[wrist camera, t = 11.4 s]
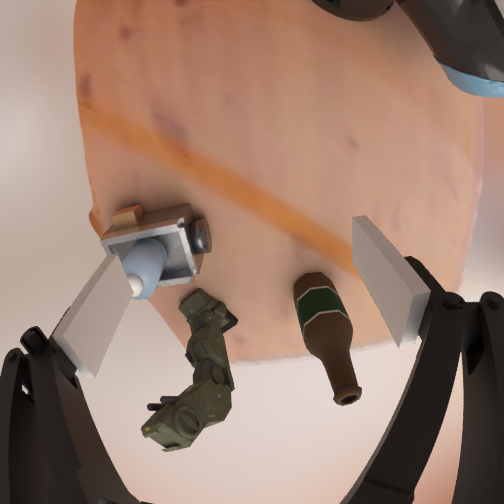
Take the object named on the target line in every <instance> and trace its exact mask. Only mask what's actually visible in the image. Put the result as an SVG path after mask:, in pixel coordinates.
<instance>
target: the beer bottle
mask: <svg viewBox="0 0 504 504" xmlns="http://www.w3.org/2000/svg"><path fill="white" fill-rule="evenodd" d="M294 303H295V307H296V311H297V315H298V319H299V323H300V327H301V331H302V335H303V340H304V342H305V345H306V348H307V349H308V350H309V351H310V353H311V354H312V355H314V356H316V357H317V358H319V359H320V360H321V361H322V363H323V365H324V367H325V369H326V372H327V375H328V378H329V380H330V383H331V386H332V389H333V391H334V394H335V395H334V398H333V399H334V401H335V402H336V404H339V405H341V406H344V405H348V404H352V403H354V402H355V401H357V400H359V398H360V397H361V394H362V388H361V387H359V386H358V383H357V380H356V376H355V372H354V369H353V365H352V362H351V358H350V352H349V349H350V345H351V341H352V336H353V327H352V324H351V321H350V319H349V316H348V314H347V312H346V310H345V308H344V305H343V303H342V301H341V299H340V297H339V295H338V293H337V290H336V288H335V286H334V285H333V283H332V281H331V280H329V279H328V278H327V277H326V276H324V275H323V274H322V273H312V274H305V275H304V276H303V277H302V278H301V279H300V280H299V281H298V282H296V283H295V284H294Z"/></svg>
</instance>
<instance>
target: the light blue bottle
mask: <svg viewBox="0 0 504 504" xmlns="http://www.w3.org/2000/svg"><path fill="white" fill-rule="evenodd" d="M166 262H167V251H166V249H165V247H164V246H163V245H162V244H161V243H160V242H159V241H157V240H155V239H152V238H142V239H140V240H138V241H137V242H136V243H135V244H134V246H133V247H132V248H131V250H130V251H129V253H128V254H127V256H126V257H125V259H124V260H123V262H122V263H121V264H122V267H123V269H124V271H125V274H126V276H127V278H128V280H129V283H130V285H131V287H132V289H133V291H134V293H133V295H132V297H131V298H134V299H146V298H148V297H150V296H151V295H152V294H153V293H154V291H155V288H156V286H157V284H158V281H159V279H160V276H161V274H162V272H163V269H164V267H165V265H166Z"/></svg>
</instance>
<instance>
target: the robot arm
mask: <svg viewBox="0 0 504 504" xmlns="http://www.w3.org/2000/svg"><path fill="white" fill-rule="evenodd" d="M312 1H313V2H314V3H316V4H317V5H318V6H319V7H321V8H322V9H324V10H326V11H327V12H329V13H331V14H333V15H335V16H338V17H341V18H344V19H347V20H352V21H370V20H374V19H376V18H378V17H380V16H382V15H384V14H385V13H386V12H388V11H389V10H390V8H391V7H392V5H393V3H394V0H312ZM395 1H396V2H397V3H398V4H399V6H400V7H401V8H402V10H403V11H404V12H405V13H406V15H407V16H408V17H409V19H410V20H411V21H412V23H413V24H414V25H415V27H416V28H417V30H418V31H419V33H420V34H421V35H422V37H423V38H424V40H425V41H426V43H427V45H428V46H429V48H430V49H431V51H432V52H433V54H434V58H435V60H436V61H437V62H438V63H439V64H440V65H441V67H442V68H443V70H444V72H445V73H446V75H447V77H448V78H449V80H450V81H451V82H452V84H453V85H455V86H456V87H458V88H459V89H460V90H462V91H464V92H466V93H469V94H472V95H476V96H482V97H494V98H495V97H497V98H499V97H504V0H395ZM352 263H353V264H354V266H355V268H356V270H357V271H358V273H359V275H360V276H361V278H362V280H363V282H364V284H365V285H366V287H367V289H368V291H369V292H370V294H371V296H372V298H373V300H374V302H375V303H376V305H377V307H378V309H379V311H380V313H381V315H382V316H383V318H384V320H385V322H386V324H387V326H388V328H389V330H390V332H391V334H392V336H393V338H394V340H395V342H396V344H397V346H398V348H403V347H406V346H409V345H413V344H415V341H416V339H417V336H418V334H419V336H420V338H421V339H422V343H421V346H420V348H419V351H418V354H417V356H416V360H415V363H414V366H413V369H412V371H411V374H410V377H409V379H408V382H407V384H406V387H405V390H404V392H403V394H402V396H401V399H400V401H399V404H398V406H397V408H396V410H395V412H394V415H393V416H392V419H391V421H390V423H389V425H388V427H387V429H386V431H385V433H384V435H383V437H382V438H381V440H380V442H379V444H378V446H377V448H376V450H375V451H374V453H373V455H372V456H371V458H370V460H369V461H368V463H367V465H366V467H365V468H364V470H363V471H362V473H361V475H360V476H359V478H358V479H357V481H356V482H355V484H354V485H353V487H352V488H351V489H350V491H349V492H348V494H347V495H346V496H345V497H344V499H343V500H342V501H341V503H340V504H412V503H413V500H414V490H415V487H416V485H417V483H418V481H419V479H420V477H421V474H422V472H423V470H424V468H425V466H426V464H427V461H428V459H429V457H430V454H431V452H432V450H433V447H434V444H435V442H436V439H437V437H438V434H439V431H440V428H441V425H442V422H443V419H444V416H445V413H446V410H447V406H448V403H449V399H450V396H451V392H452V388H453V384H454V380H455V376H456V371H457V367H458V362H459V357H460V352H461V353H462V365H463V385H464V386H463V387H464V388H463V389H464V411H463V432H462V444H461V454H460V462H459V468H458V474H457V480H456V485H455V490H454V495H453V499H452V504H504V298H503V297H502V296H501V295H500V294H498V293H496V292H491V291H490V292H485V293H483V295H482V296H481V299H480V301H479V302H465V301H464V299H463V298H462V297H461V296H459V295H458V294H456V293H453V292H446V291H445V290H444V289H443V288H442V287H441V285H440V284H439V283H438V282H437V281H436V279H435V278H434V277H433V276H432V275H431V274H430V272H429V271H428V270H427V269H425V267H424V265H423V264H422V263H421V262H420V261H419V260H417V259H415V258H414V257H412V256H408V257H403V256H402V255H401V254H400V253H399V251H398V250H397V249H396V248H395V247H394V246H393V245H392V243H391V242H390V241H389V240H388V239H387V238H386V237H385V236H384V235H383V233H382V232H381V231H380V230H379V229H378V228H377V227H376V226H375V225H374V224H373V223H372V222H371V221H370V220H369V218H368V217H367V216H358V217H353V235H352ZM133 293H134V291H133V289H132V287H131V285H130V283H129V280H128V278H127V276H126V274H125V271H124V269H123V267H122V264H121V262H120V259H119V257H118V255H117V254H116V255H110V256H107V257H106V258H105V259H104V261H103V262H102V263H101V265H100V266H99V267H98V269H97V270H96V271H95V273H94V274H93V275H92V277H91V278H90V280H89V281H88V282H87V284H86V285H85V286H84V288H83V289H82V291H81V292H80V293H79V295H78V296H77V298H76V299H75V301H74V302H73V304H72V305H71V306H70V307H69V308H68V309H67V311H66V312H65V314H64V315H63V318H61V320H60V321H59V323H58V324H57V326H56V328H55V329H54V331H53V332H52V334H51V336H50V337H49V339H47V338H46V336H45V335H44V333H43V332H42V331H41V329H40V328H39V327H38V326H34V327H31V328H29V329H28V330H27V331H26V332H25V333H24V334H23V336H22V337H21V339H20V343H21V344H22V345H23V346H24V348H25V349H26V350H27V352H28V353H29V354H25V355H24V353H23V352H22V351H21V350H20V348H14V349H12V350H10V351H9V352H8V354H7V355H6V357H5V360H4V364H3V368H2V372H1V376H0V504H152V503H147V502H142V501H141V503H140V502H139V501H138V500H137V499H136V498H135V497H134V496H133V495H132V494H131V493H130V492H129V491H128V490H127V488H126V487H125V485H124V483H123V482H122V480H121V478H120V476H119V474H118V473H117V471H116V469H115V467H114V465H113V463H112V461H111V459H110V457H109V455H108V453H107V451H106V449H105V447H104V445H103V442H102V440H101V438H100V436H99V433H98V431H97V429H96V426H95V424H94V421H93V419H92V417H91V414H90V411H89V408H88V406H87V403H86V400H85V398H84V394H83V391H82V389H81V385H80V382H79V379H78V377H77V376H76V375H75V372H76V370H77V369H78V370H79V372H80V373H81V374H82V375H83V376H84V377H92V378H95V377H96V375H97V372H98V370H99V367H100V365H101V363H102V360H103V358H104V356H105V353H106V351H107V348H108V346H109V344H110V342H111V340H112V337H113V335H114V333H115V331H116V329H117V327H118V324H119V322H120V320H121V318H122V316H123V314H124V312H125V310H126V308H127V306H128V303H129V301H130V299H131V297H132V295H133ZM22 385H23V386H24V387H25V388H26V389H27V390H28V394H25V392H24V391H23V390H22Z"/></svg>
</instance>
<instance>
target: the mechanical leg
mask: <svg viewBox="0 0 504 504" xmlns="http://www.w3.org/2000/svg"><path fill="white" fill-rule="evenodd" d="M179 310H180V311H181V312H182V313H183V314H184V315H185V317H186V318H187V322H188V323H189V324H190V327H191V328H190V329H191V332H192V336H191V338H190V339H189V341H188V345H187V350H186V354H185V356H186V357H187V359H188V360H189V362H190V363H191V365H192V366H193V367H194V368H195V371H194V373H193V385H191V386H189V387H188V388H187V389H186V390H185V391H183V392H182V393H181V394H180V395H179V396H162V397H161V398H160V401H161V403H162V404H154V403H150V404H148V405H147V409H148V410H150V411H156V412H155V413H154V414H153V415H152V416H151V418H149V420H148V421H147V422H146V423H145V424H144V425H143V426H142V427H141V431H142V433H143V436H144V437H145V438H147V437H150V438H152V439H153V440H154V441H156V442H157V443H159V444H160V445H162V446H163V447H165V448H166V449H163V451H165V452H168V451H174V450H179V449H182V448H187V447H190V446H191V444H192V443H193V441H194V440H195V439H196V438H197V436H198V435H199V434H200V433H201V431H202V430H203V429H204V428H206V427H208V426H211V425H214V424H217V423H219V422H222V421H224V420H225V418H226V416H227V414H228V413H229V411H230V409H231V407H232V404H231V391H233V390H234V389H235V388H234V382H233V378H232V374H231V371H230V366H229V361H228V356H227V351H226V346H225V341H224V336H223V333H224V332H226V331H227V330H229V329H230V328H232V327H233V326H235V325H236V324H237V322H238V319H237V318H236V317H235V316H234V315H232V314H231V313H230V312H229V311H228V310H227V309H226V305H224V304H223V303H218V302H217V300H215V299H214V298H211V297H210V296H209V295H208V294H206V293H205V292H204V291H203V290H201V289H200V288H199V289H198V290H197V291H196V292H194V293H193V294H192V295H190V296H189V297H188V298H187V299H185V301H183V302H182V303H181V304H180V306H179Z"/></svg>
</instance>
